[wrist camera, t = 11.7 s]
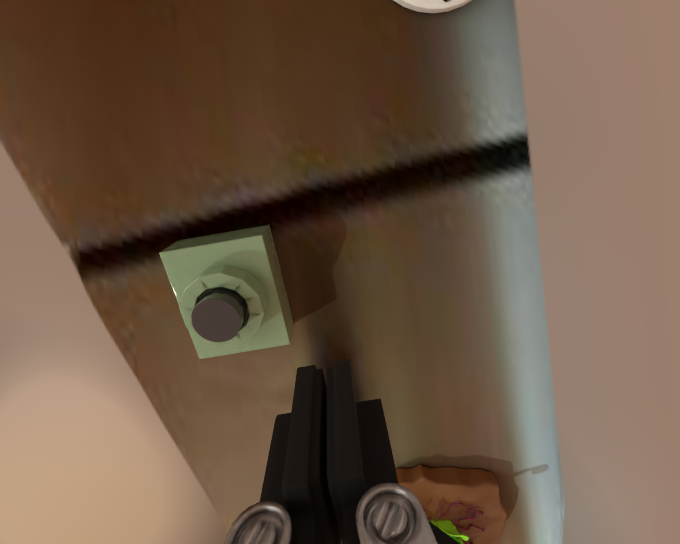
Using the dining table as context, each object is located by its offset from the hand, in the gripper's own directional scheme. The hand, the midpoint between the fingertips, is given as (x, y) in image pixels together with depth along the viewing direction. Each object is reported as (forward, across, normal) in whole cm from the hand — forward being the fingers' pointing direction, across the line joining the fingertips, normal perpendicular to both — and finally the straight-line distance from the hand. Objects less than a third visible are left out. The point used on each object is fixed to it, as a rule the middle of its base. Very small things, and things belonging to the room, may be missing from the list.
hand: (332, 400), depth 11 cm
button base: (+23, +10, +4) cm, 25 cm away
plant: (+23, -7, +43) cm, 49 cm away
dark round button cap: (+18, +10, +4) cm, 21 cm away
